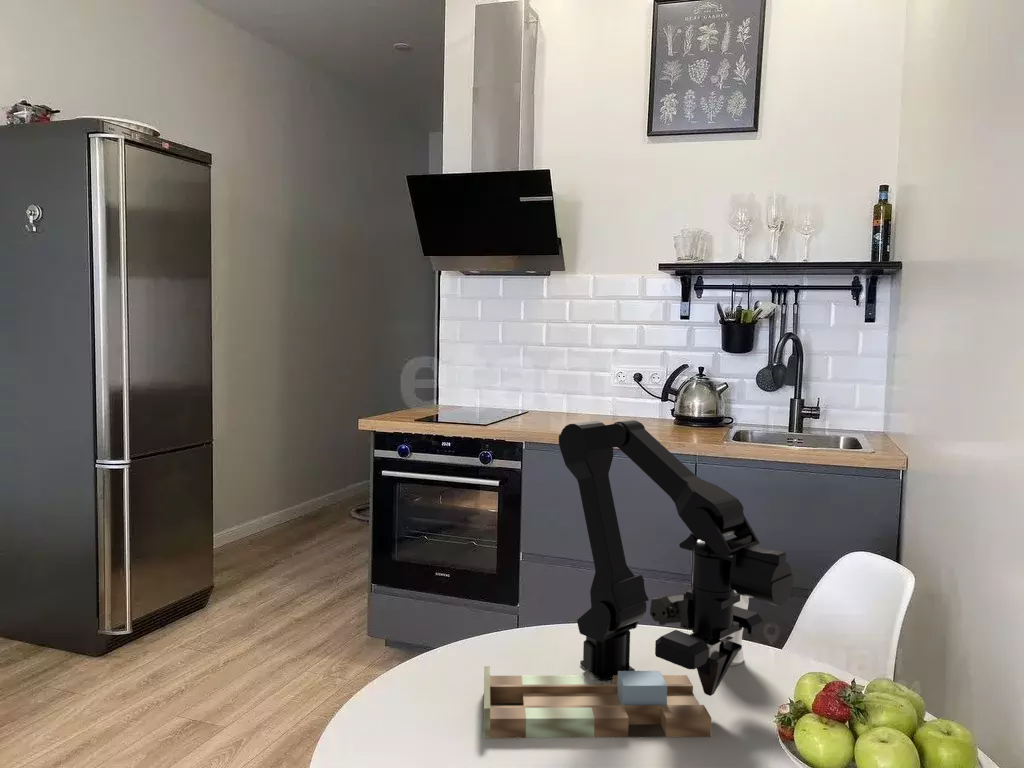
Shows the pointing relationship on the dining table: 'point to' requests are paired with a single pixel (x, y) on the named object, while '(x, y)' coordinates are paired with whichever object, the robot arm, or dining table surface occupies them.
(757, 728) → the dining table surface
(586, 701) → the tray
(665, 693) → the block
